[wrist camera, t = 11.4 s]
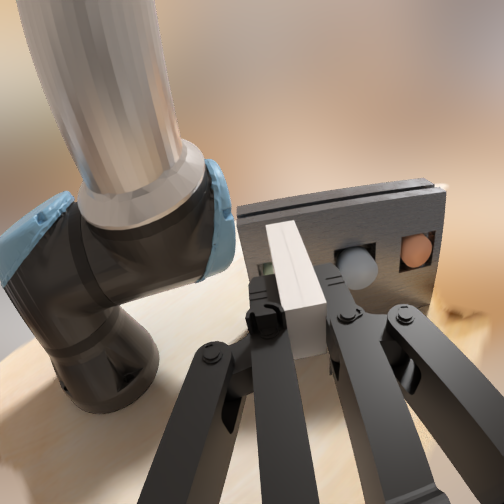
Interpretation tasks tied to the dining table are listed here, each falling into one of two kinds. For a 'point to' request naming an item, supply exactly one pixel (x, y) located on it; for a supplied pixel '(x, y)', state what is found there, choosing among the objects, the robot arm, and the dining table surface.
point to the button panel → (357, 234)
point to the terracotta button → (415, 250)
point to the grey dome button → (357, 267)
